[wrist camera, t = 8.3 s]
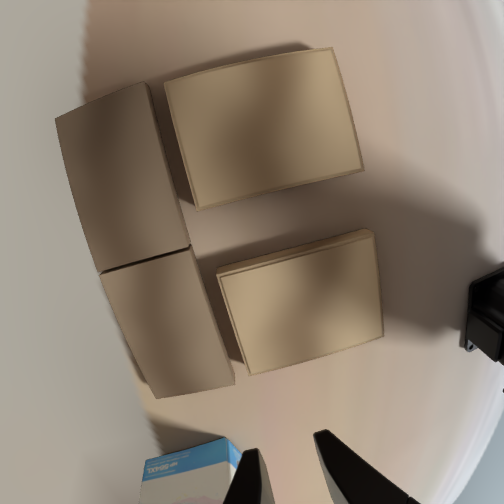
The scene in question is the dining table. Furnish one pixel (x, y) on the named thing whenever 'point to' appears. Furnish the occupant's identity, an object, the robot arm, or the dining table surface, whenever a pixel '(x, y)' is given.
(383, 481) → the robot arm
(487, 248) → the dining table surface
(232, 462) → the ink box
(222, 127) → the plank front
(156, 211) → the tan wooden tile
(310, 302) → the plank rear
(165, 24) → the dining table surface
